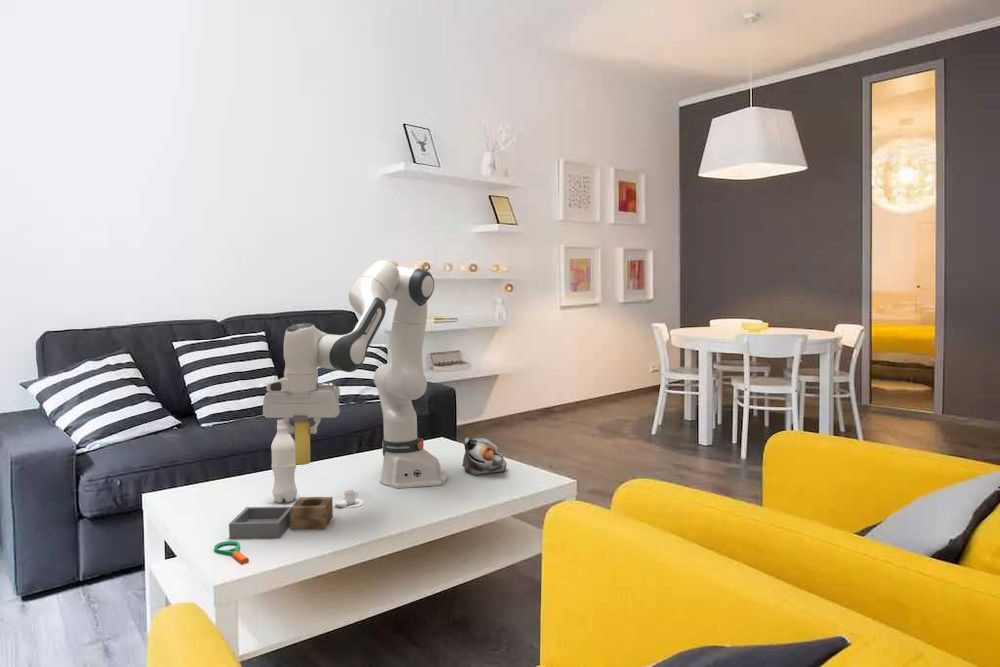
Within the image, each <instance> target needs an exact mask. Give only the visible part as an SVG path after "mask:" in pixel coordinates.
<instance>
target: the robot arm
mask: <svg viewBox="0 0 1000 667" xmlns="http://www.w3.org/2000/svg"><path fill="white" fill-rule="evenodd" d="M434 290H435V279H434V277H433V275H432V273H431V272H430V271H428V270H426V269H423V268H419V267H418V268H416V267H411V266H405V265H401V266H400V265H395V264H394V263H393V262H391V261H389V260H386V259H379V260H377V261H374V263H372V264H371V265H369V266H368V267H367V269H365V270H364V272H362V273H361V275H360V276H359V277H358V278H357V279H356V280H355V281H354V283H353V284H352V286H351V288H350V289H349V291H348V301H349V304H350V306H351V308H352V309H353V310H354V311H355V312H356V313H357V314H358V315H359V316H360V318H359V320H358V322H356V324H355V326H354V328H353V330H352V331H351V332H349V333H345V334H331V333H326V332H324V331H321V330H320V329H318V328H317V327H316V326H315V324H314V323H310V322H302V323H295V324H291V325H290V326H288V327H287V328H286V329H285V333H284V339H283V360H284V363H285V364H284V365H285V367H284V371H283V377H281V378H277V379H276V380H273V381H270V382H268V383H267V384H266V386H265V387H266V391H267V392H266V393H265V395H264V397H263V403H262V415H263V416H264V418H267V419H273V418H275V419H276V418H277V419H279V418H281V419H283V423H284V424H285V426H286V427H287V433H288V434H290V435H294V434H295V425H294V426H292V425H291V423H290V420H291V419H292V418H293V416H307V417H308V418H312V419H313V422H315V423H314V424H313V426H311V425H310V435H316V434H317V432H318V426H319V424H320V423H321V420H322V418H323V419H326V418H327V419H328V418H329V419H330V418H333V419H334V418H337V417H338V416H339V415H340V413H341V411H340V410H341V409H340V408H341V407H340V401H339V399H340V397H341V391H340V390H341V389H340V387H339V386H338V385H336V384H335V383H331V382H330V383H322V382H320V383H319V371H318V370H319V369H318V368H321V369H327V370H328V369H329V370H336V371H337V370H338V371H340V372H346V373H352V372H355V371H357V370H358V369H359V368H360V367H361V366H362V364H363V363H364V361H365V358H366V356H367V352H368V349H369V346H370V345H371V343H372V341H373V339H374V337H375V336H376V334H377V332H378V330H379V329H380V327H381V324H382V322H383V320H384V318H385V314H386V311H387V307H386V303H387V302H388V301H389V299H390V300H395V301H396V302H397V303H396V307H395V311H394V314H393V317H392V318H393V319H392V325H391V329H390V337H389V343H388V344H389V349H390V352H391V362H388V363H384V364H381V365H379V367H378V368H377V369H375V371H374V375H373V383H374V385H375V387H376V389H377V392H378V398H379V402H380V407H381V411H382V418H383V439H382V444H381V445H382V448H381V450H382V457H383V461H382V470H381V474H380V478H379V482H380V483H381V484H383V485H386V486H390V487H393V488H395V489H404V488H405V489H406V488H415V487H416V488H419V487H421V488H423V487H433V486H441V485H442V486H443V484H445V483H446V482H447V480H448V474H447V472H445V471H443V470H441V465H440V461H439V459H438V457H437V456H434V455H433V454H432V453H430V452H429V451H428V450H426V449H425V448H424V445H425V444H424V438H420V437H418V416H417V412H416V410H415V407H414V405H413V402H412V401H413V400H418V399H420V398H421V397H422V396H423V395H425V393H426V391H427V387H428V381H427V377H426V375H425V373H424V363H423V348H424V347H423V345H424V340H425V335H426V334H425V333H426V327H427V320H428V301H429V299H431V296H433V293H434Z"/></svg>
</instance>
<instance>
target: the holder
mask: <svg viewBox="0 0 1000 667" xmlns="http://www.w3.org/2000/svg"><path fill="white" fill-rule="evenodd" d="M333 505H334V504H333V496H305V497H304V496H302V497H301V496H300V497H299V498H298V499H297V500H296V501H295V502H294V503H293V505H292V506H290V507H291V508H290V511H291V524H290V530H291V531H296V530H297V531H302V530H303V531H304V530H307V531H311V530H313V531H315V530H316V531H317V530H326V529H327V528H328V526H329V524H330V523H331V522H332V520H333V518H334V513H333V512H334V511H333V508H334V506H333Z"/></svg>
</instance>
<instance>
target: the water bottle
mask: <svg viewBox="0 0 1000 667" xmlns="http://www.w3.org/2000/svg"><path fill="white" fill-rule="evenodd" d="M276 422H277V425H276V430H277V431H276V434H275V436H274V438H273V440H272V443H271V445H270V450H271V470H272V472H273V477H274V482H273V488H272V497H273V498H274V500H275V502H276V503H277V504H281V503H283V501H285V503H291V502H292V501H293V500H294V501H295V499H296V497H297V494H298V488H297V485H296V481H295V472H296V468H297V464H295V439H294V438H293V436H292V434H288V433H287V427H286V426H285V424H284V423H283V418H281V419H277V421H276Z"/></svg>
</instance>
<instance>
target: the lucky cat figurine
mask: <svg viewBox="0 0 1000 667" xmlns="http://www.w3.org/2000/svg"><path fill="white" fill-rule="evenodd" d="M463 446H464V455H463V459H462V467H464V470H465V473H467V474H470V475H472V476H473V475H474V476H478V475H482V474H487V473H500V472H501V473H502V472H505V471H506V470H507V469H506V468H507V462H506V459H505V458H504V454H502V453H501V452H500V448H499V447H498V446H497V445H496V444H495V443H494V442H493V441H490V440H489V439H488V438H484V437H476V438H473V439H470V437H465V438H464V439H463Z"/></svg>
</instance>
